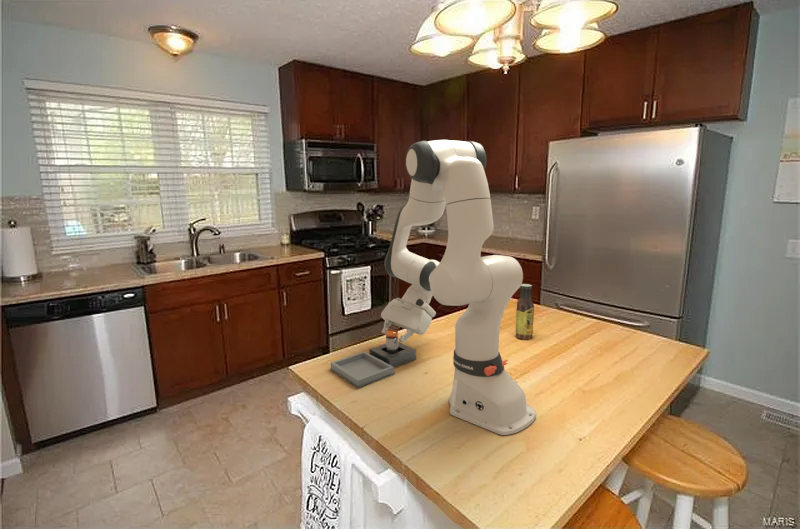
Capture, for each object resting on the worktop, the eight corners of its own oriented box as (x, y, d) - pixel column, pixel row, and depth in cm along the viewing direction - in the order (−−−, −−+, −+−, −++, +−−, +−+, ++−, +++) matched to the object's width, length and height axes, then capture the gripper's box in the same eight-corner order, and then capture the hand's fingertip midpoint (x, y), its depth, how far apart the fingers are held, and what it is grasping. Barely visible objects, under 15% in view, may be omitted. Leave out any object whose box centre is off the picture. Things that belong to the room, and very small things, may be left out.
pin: (401, 359, 135) (400, 330, 133) (391, 362, 133) (390, 334, 131) (393, 355, 138) (392, 327, 136) (384, 359, 136) (383, 330, 134)
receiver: (416, 359, 135) (415, 349, 134) (389, 369, 128) (389, 359, 127) (395, 349, 143) (395, 340, 142) (369, 358, 136) (369, 348, 136)
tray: (394, 374, 125) (393, 367, 124) (358, 388, 117) (358, 380, 116) (364, 358, 137) (364, 351, 136) (330, 369, 129) (330, 362, 128)
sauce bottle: (529, 341, 147) (531, 288, 143) (512, 338, 151) (514, 286, 146) (535, 335, 152) (537, 284, 148) (519, 332, 156) (520, 282, 152)
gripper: (390, 292, 144) (368, 324, 140) (429, 304, 129) (406, 341, 125) (400, 301, 148) (379, 333, 144) (439, 314, 132) (417, 351, 128)
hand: (392, 337), depth 134 cm, fingers open, 8 cm apart
